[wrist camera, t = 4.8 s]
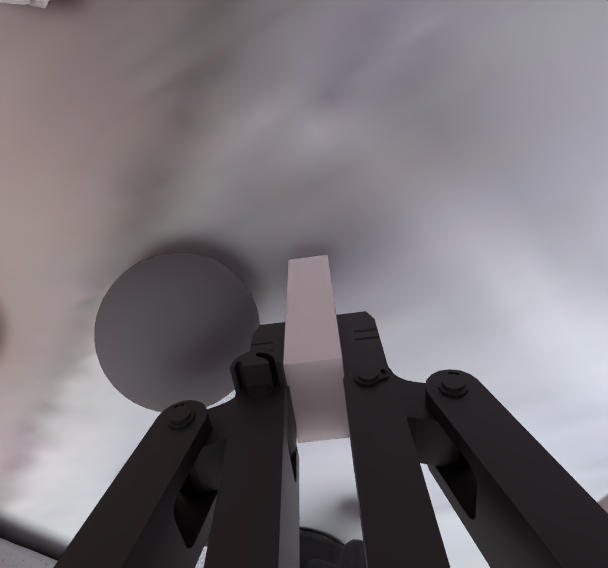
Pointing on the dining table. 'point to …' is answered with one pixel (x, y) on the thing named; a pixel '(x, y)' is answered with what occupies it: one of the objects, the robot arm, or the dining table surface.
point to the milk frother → (327, 552)
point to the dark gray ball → (174, 330)
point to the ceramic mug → (22, 557)
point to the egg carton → (28, 2)
